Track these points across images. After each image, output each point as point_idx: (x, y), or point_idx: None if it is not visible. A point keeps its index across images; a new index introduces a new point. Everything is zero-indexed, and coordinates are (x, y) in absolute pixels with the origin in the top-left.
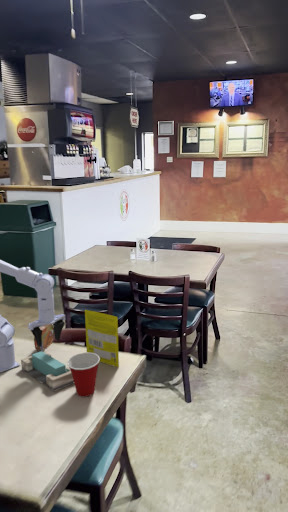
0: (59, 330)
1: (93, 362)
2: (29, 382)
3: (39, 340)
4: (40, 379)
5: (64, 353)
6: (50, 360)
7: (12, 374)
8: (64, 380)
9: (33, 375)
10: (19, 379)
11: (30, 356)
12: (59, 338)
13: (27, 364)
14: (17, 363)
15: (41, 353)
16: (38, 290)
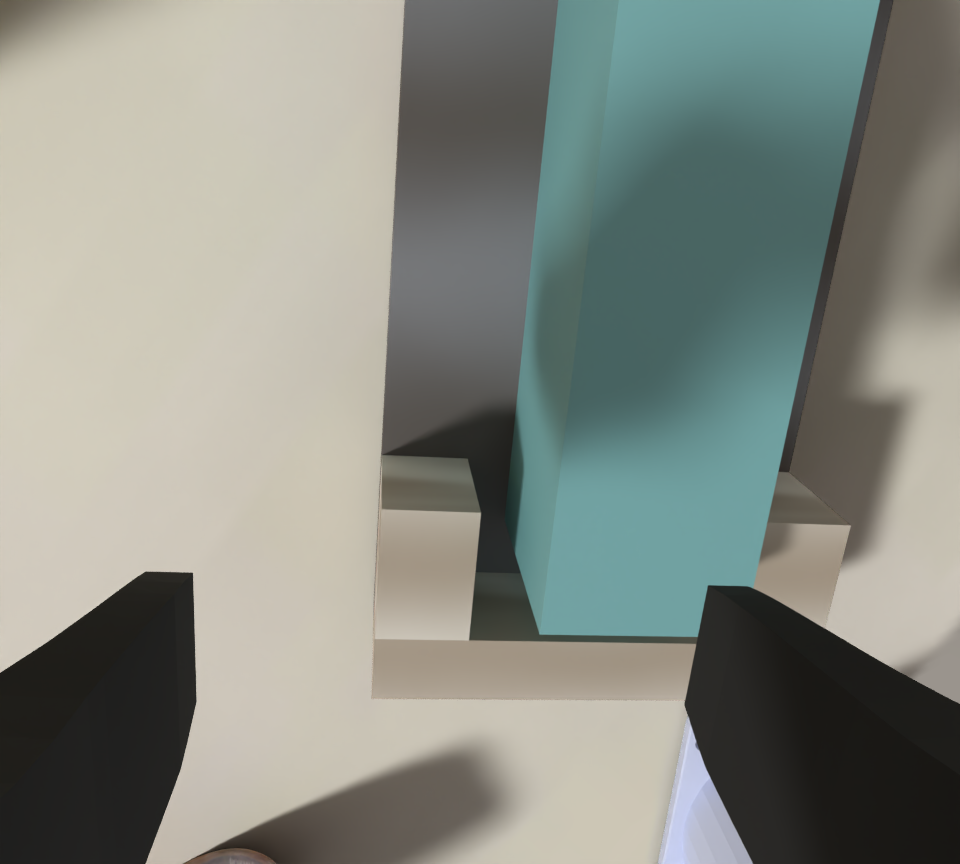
0: (31, 740)
1: None
2: (935, 217)
3: (892, 668)
4: (872, 85)
5: (10, 606)
6: (718, 123)
7: (893, 576)
8: None
9: (820, 304)
10: (942, 397)
11: (650, 691)
12: (131, 589)
13: (834, 515)
14: (698, 755)
15: (609, 548)
16: None
